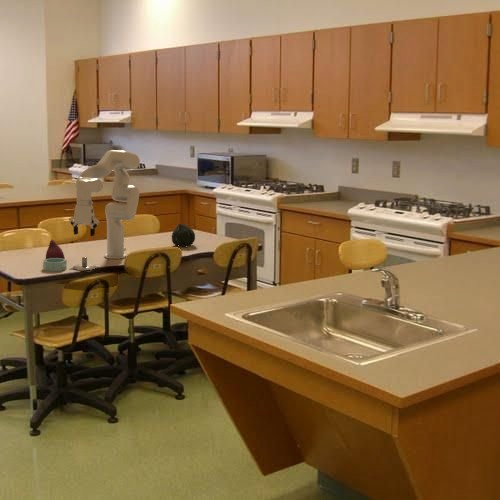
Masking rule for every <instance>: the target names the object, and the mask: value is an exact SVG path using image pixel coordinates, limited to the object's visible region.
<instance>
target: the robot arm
mask: <svg viewBox="0 0 500 500" xmlns="http://www.w3.org/2000/svg"><path fill="white" fill-rule="evenodd" d="M140 163H141V162H140V157H139V156H138V154H136V153H132V152H129V151H127V150H119V149H118V150H115V149H110V150H107V151H106V152H105V153H104V155H103V156H102V157H101V158H100V160H99V161H98V163H96V164H95V165H92V166H90V167H89V168H87V169H84V170H83V171H82V172H80V174H79V175H78V176H77V179H76V180H75V188H76V205H75V206H74V207H75V208H74V214H73V216H71V217H70V218H68V220H69V222H70V224H71V226H72V228H73V235H79V225H84V226H89V227H90V232H89V233H90V237H94V236H95V235H96V231H95V230H96V228H97V227H98V226H99V223H100V220H99V219H97V218H96V217H95V210H94V206H93V205H94V201H92V193H99V192H101V191H102V190H103V187H104V183H103V181H102V180H101V179H102V178H106V177H107V176H109V175H110V174H111V173H112V171H113V173H114V181H113V185H112V188H111V189H112V190H111V198H112V200H114V202H109V203H107V204H106V205H105V207H104V208H105V209H104V211H105V218H106V219H105V220H106V253H105V254H104V258H106V259H110V260H117V259H118V260H121V259H125V258H126V257H125V256H126V255H127V254H126V253H125V252H126V250H127V248H126V247H125V238H124V237H125V228H124V223H123V222H122V221H133V220H134V219H135V217H136V215H137V210H138V205H139V201H140V200H139V199H140V191H139V188H138V187H137V186H135V185H131V184H130V179H131V178H130V177H131V176H130V174H129V172H128V171H127V170H136V169H138V167H139V166H140ZM129 184H130V185H129ZM116 201H117V202H116ZM124 202H126V203H124ZM120 258H121V259H120Z"/></svg>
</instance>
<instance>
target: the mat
mask: <svg viewBox="0 0 500 500" xmlns="http://www.w3.org/2000/svg"><path fill="white" fill-rule="evenodd" d="M68 270H71V271H76V270H75V269H73V267H72V268H71V267H70V268H68ZM78 271H79V272H80V270H78ZM91 271H93V270H90V271H87V272H88V273H90V272H91Z"/></svg>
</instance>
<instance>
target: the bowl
mask: <svg viewBox="0 0 500 500" xmlns="http://www.w3.org/2000/svg"><path fill="white" fill-rule="evenodd" d="M42 264H43V270H44V272H45V271H46V272H54V273H55V272H62V271H65V270H67V259H62V258H49V259H46V258H45V259H43V263H42Z"/></svg>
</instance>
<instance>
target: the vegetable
mask: <svg viewBox="0 0 500 500" xmlns="http://www.w3.org/2000/svg"><path fill="white" fill-rule="evenodd" d="M49 241H50V242H49V244H48V247H47V250H46V251H45V252H46V254H45V259H49V258H62V259H65V254H64V252H63V249H62V248H61V247H60V246H59V244H58V243H56V241H55V240H53V239H51V240H49ZM65 260H66V259H65Z"/></svg>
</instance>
